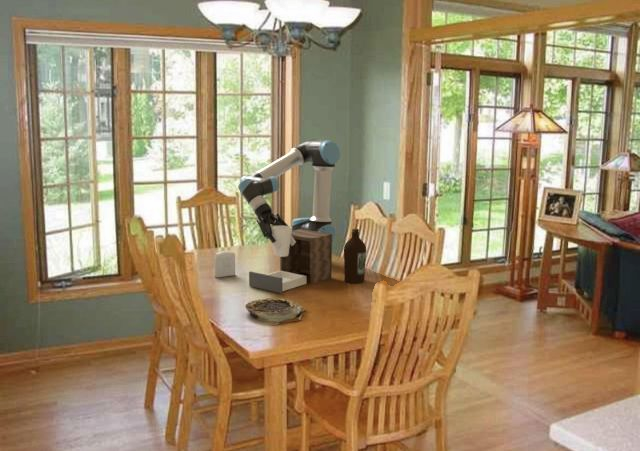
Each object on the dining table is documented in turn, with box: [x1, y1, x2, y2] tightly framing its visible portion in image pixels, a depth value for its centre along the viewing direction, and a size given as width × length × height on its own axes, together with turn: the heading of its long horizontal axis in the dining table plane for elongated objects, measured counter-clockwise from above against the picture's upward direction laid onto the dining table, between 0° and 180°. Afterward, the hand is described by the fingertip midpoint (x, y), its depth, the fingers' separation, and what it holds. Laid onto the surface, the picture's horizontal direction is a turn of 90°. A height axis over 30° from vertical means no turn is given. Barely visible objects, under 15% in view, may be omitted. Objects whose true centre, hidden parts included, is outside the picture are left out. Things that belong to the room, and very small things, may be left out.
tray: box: [248, 270, 308, 294], centre depth 301 cm, size 20×19×7 cm
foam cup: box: [271, 225, 292, 258], centre depth 299 cm, size 10×9×13 cm
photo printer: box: [214, 250, 236, 278], centre depth 317 cm, size 10×4×12 cm, turn 123°
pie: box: [244, 297, 306, 326], centre depth 260 cm, size 28×27×5 cm
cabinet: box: [279, 229, 333, 285], centre depth 315 cm, size 15×19×22 cm
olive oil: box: [343, 228, 367, 284], centre depth 309 cm, size 11×11×25 cm
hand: (286, 245), depth 298 cm, fingers closed on foam cup, 9 cm apart
